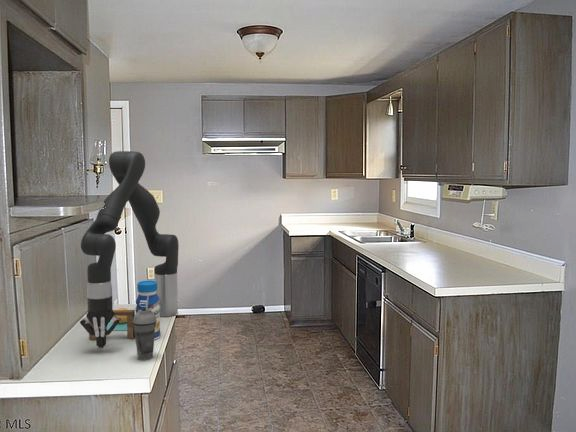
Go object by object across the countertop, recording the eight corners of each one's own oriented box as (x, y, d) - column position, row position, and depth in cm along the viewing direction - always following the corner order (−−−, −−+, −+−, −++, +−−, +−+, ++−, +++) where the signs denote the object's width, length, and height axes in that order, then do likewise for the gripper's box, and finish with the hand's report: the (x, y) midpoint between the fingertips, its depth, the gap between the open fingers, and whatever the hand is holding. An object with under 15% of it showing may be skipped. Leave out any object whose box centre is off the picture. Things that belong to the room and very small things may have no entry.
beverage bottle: (149, 332, 177) (148, 278, 175) (165, 336, 172) (164, 281, 170) (130, 338, 170) (129, 283, 168) (147, 343, 165) (146, 286, 163)
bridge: (92, 337, 171) (91, 310, 170) (135, 336, 172) (134, 309, 171) (89, 340, 168) (88, 312, 167) (133, 339, 169) (132, 312, 169)
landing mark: (111, 321, 190) (111, 320, 190) (142, 320, 191) (142, 320, 191) (101, 331, 178) (101, 330, 178) (135, 330, 179) (135, 329, 179)
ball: (115, 305, 189) (111, 312, 183) (131, 305, 190) (128, 311, 184) (115, 319, 190) (112, 326, 185) (131, 319, 191) (128, 326, 185)
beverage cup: (136, 353, 156) (135, 292, 154) (159, 353, 156) (158, 292, 154) (130, 362, 149) (129, 298, 147) (154, 361, 149) (153, 298, 147)
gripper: (123, 291, 160) (125, 342, 161) (82, 292, 159) (84, 343, 160) (117, 297, 153) (119, 350, 154) (74, 298, 151) (76, 351, 153)
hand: (101, 347), depth 157 cm, fingers closed
